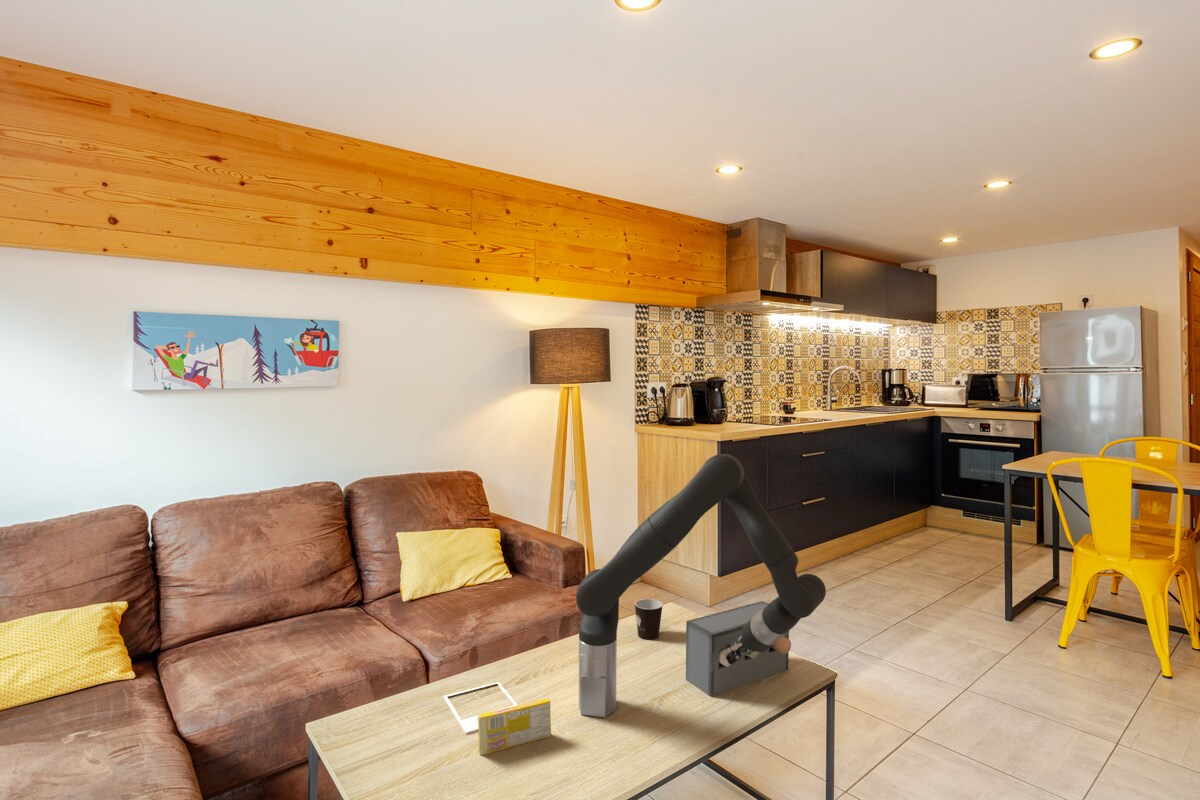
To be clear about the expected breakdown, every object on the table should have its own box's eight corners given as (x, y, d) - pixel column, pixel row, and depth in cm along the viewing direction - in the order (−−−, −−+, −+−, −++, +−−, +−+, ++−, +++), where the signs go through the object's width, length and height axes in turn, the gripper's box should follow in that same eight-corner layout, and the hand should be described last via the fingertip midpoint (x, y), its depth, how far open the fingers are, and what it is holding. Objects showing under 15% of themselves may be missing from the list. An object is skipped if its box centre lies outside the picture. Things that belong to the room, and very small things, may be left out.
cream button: (734, 664, 161) (734, 649, 160) (722, 668, 158) (722, 652, 158) (715, 653, 167) (716, 639, 166) (704, 657, 164) (704, 642, 164)
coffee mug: (663, 641, 190) (663, 609, 189) (635, 641, 190) (635, 609, 189) (660, 625, 201) (660, 595, 201) (633, 625, 202) (633, 595, 201)
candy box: (548, 732, 143) (548, 697, 142) (551, 737, 141) (551, 701, 140) (477, 750, 136) (477, 713, 135) (480, 756, 134) (480, 718, 133)
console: (788, 669, 172) (789, 612, 172) (710, 696, 158) (711, 634, 157) (761, 655, 181) (762, 601, 180) (685, 679, 167) (686, 621, 166)
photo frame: (465, 731, 141) (443, 695, 157) (465, 736, 142) (443, 699, 157) (525, 713, 149) (498, 681, 164) (525, 718, 149) (498, 685, 164)
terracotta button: (791, 652, 168) (791, 637, 167) (780, 655, 166) (780, 640, 165) (771, 642, 174) (771, 628, 173) (761, 645, 172) (761, 631, 171)
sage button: (759, 656, 165) (759, 641, 165) (748, 659, 163) (748, 644, 163) (740, 646, 171) (741, 631, 171) (729, 649, 169) (730, 635, 169)
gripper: (776, 609, 154) (741, 640, 164) (736, 620, 147) (702, 652, 158) (793, 637, 149) (756, 668, 160) (752, 650, 142) (716, 681, 153)
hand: (729, 660), depth 159 cm, fingers closed
